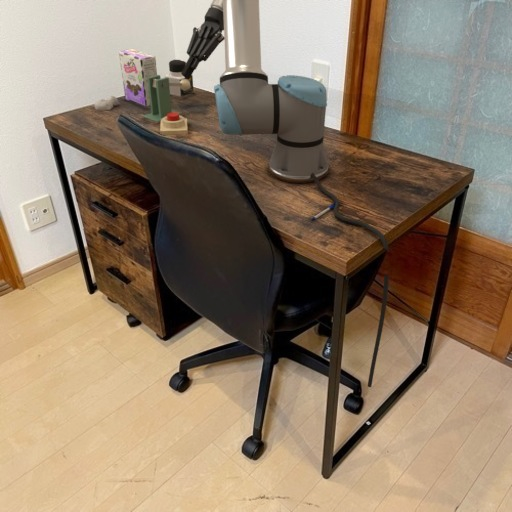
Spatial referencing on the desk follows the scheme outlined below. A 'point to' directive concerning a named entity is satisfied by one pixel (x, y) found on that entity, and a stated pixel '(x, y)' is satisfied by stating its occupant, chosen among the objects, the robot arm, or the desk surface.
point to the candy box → (137, 74)
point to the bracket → (159, 98)
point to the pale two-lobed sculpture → (106, 104)
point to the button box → (173, 126)
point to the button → (173, 116)
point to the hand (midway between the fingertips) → (185, 76)
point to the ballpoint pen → (324, 211)
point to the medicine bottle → (178, 77)
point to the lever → (177, 84)
